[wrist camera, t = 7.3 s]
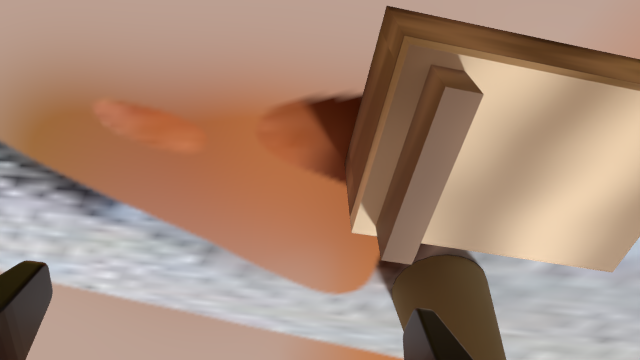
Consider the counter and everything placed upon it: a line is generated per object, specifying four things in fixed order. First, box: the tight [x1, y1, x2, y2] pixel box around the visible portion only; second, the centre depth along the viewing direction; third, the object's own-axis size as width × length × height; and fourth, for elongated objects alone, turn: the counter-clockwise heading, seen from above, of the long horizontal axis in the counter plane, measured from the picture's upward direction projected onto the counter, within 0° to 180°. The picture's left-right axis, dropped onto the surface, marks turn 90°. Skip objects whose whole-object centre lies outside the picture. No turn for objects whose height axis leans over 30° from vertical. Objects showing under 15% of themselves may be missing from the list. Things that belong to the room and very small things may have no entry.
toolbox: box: [345, 6, 640, 216], centre depth 20 cm, size 12×8×4 cm, turn 79°
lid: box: [350, 36, 640, 272], centre depth 17 cm, size 12×8×3 cm, turn 79°
